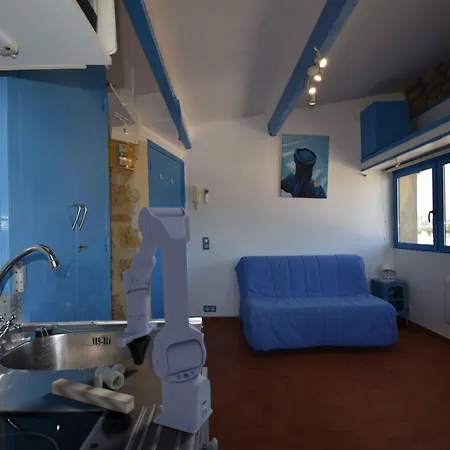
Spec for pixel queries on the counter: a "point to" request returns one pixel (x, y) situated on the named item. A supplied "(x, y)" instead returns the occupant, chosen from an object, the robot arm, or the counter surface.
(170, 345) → the robot arm
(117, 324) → the counter surface
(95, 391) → the light wooden bar
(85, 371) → the counter surface
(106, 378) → the pipe fitting
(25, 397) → the counter surface
